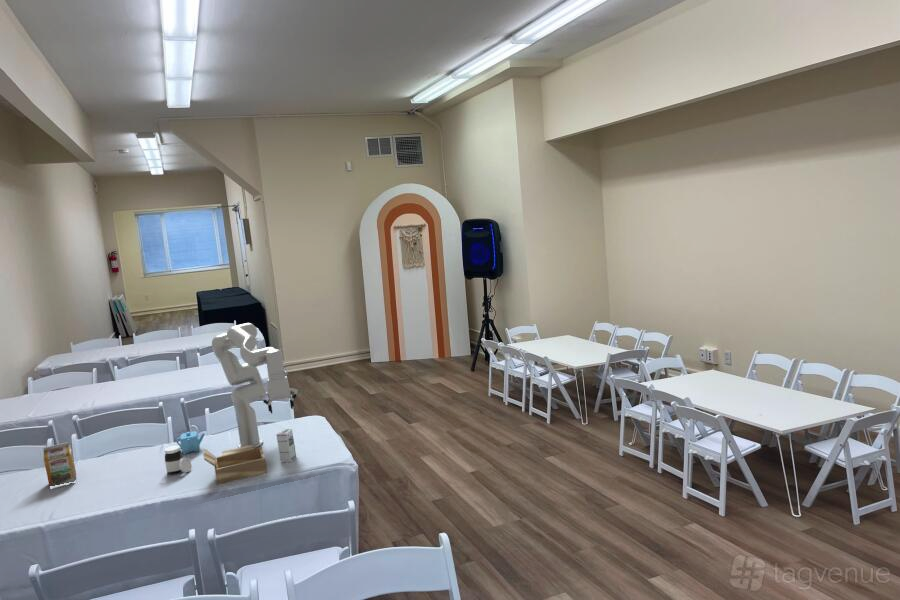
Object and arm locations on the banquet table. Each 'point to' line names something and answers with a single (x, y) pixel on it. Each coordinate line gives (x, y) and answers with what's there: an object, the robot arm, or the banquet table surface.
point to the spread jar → (176, 460)
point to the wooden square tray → (240, 464)
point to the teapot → (190, 442)
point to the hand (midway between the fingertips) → (281, 410)
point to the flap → (209, 458)
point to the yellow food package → (59, 464)
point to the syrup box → (286, 445)
